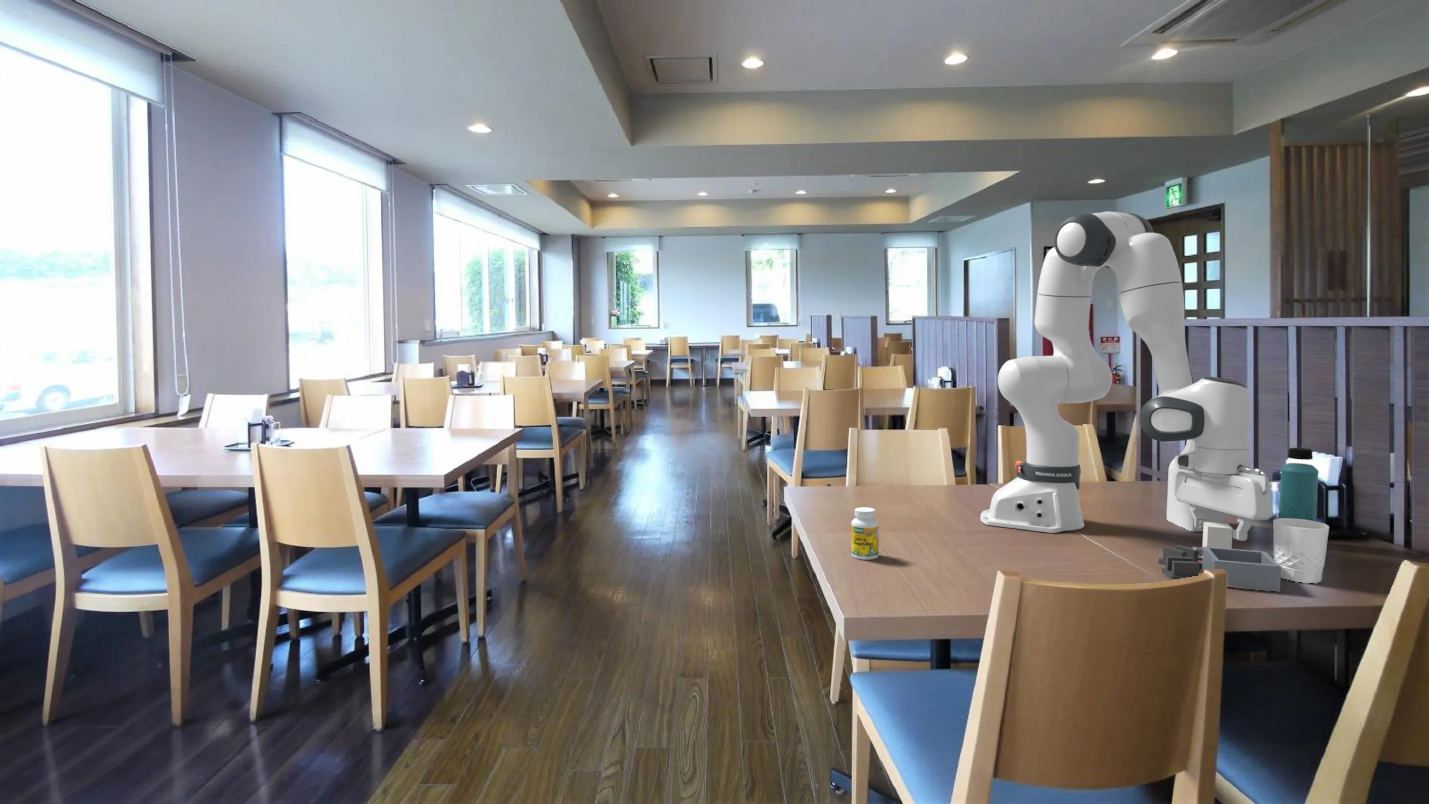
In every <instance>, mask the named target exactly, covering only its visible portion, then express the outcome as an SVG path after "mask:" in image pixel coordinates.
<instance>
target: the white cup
mask: <svg viewBox="0 0 1429 804" xmlns="http://www.w3.org/2000/svg"><path fill="white" fill-rule="evenodd" d="M1272 522H1273V527H1272V528H1273V530H1272V532H1273V537H1272V539H1273V540H1272V542H1273V545H1272V546H1273V559H1274V560H1275V561H1276V562H1277V563H1278V564H1279V565H1280V566H1281V578H1283V579H1282V580H1284V579H1287V580H1286V581H1288V580H1292V581H1295V582H1294V583H1298V582H1302V583H1301V584H1309V583H1314V584H1320V583H1321V582H1322V581H1323V572H1324V567H1325V562H1326V556H1327V545H1328V538H1329V532H1330V526H1329V525H1328V524H1326V523H1323V522H1319V521H1317V522H1316V521H1310V520H1304V519H1293V518H1280V519H1279V518H1275V519H1273V521H1272ZM1292 581H1291V582H1292ZM1319 582H1320V583H1319Z"/></svg>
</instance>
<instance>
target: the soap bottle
mask: <svg viewBox="0 0 1429 804" xmlns="http://www.w3.org/2000/svg"><path fill="white" fill-rule="evenodd" d="M1193 451H1195V442H1194V441H1193V440H1186V444H1185V447H1184V449H1183V450H1182V452H1181V453H1180V454H1179V455H1181V454H1185V453H1189V452H1193ZM1177 468H1178V466H1176V465H1175V457H1174V458H1173V459H1172V461H1170V463H1169V467H1168V472H1167V473H1168V475H1167V477H1168V480H1167V497H1166V498H1167V501H1166V521H1167V520H1168V521H1167V522H1169V521H1170V522H1169V523H1171V522H1172V524H1173V523H1174V525H1176V526H1178V527H1180V528H1182V527H1183V529H1184V528H1185V529H1184V530H1187V531H1189V532H1191V531H1192V533H1193V532H1194V533H1195V532H1197V533H1199V532H1200V533H1201V532H1202V533H1203V529H1199V528H1195V527H1194V518H1193V516H1192V514H1191V511H1190V504H1187V503H1183V502H1179V501H1177V499H1176V497H1175V495H1174V474H1175V470H1176V469H1177ZM1202 512H1203V515H1204V518H1205V519H1206V520H1208V522H1213V523H1224V520H1225V519H1224V517H1225V516H1224V515H1225V513H1223V512H1219V511H1215V510H1211V509H1207V508H1204V510H1202Z"/></svg>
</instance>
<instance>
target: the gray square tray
mask: <svg viewBox="0 0 1429 804" xmlns="http://www.w3.org/2000/svg"><path fill="white" fill-rule="evenodd" d="M1201 563H1202V568H1201V571H1202V572H1203V571H1204V570H1206V569H1224V570H1226V571H1227V572H1228V585H1229V587H1230V585H1231V586H1237V587H1244V588H1249V589H1260V590H1269V591H1279V592H1280V593H1281V566H1280V565H1279V564H1278V563H1277V562H1276V561H1275V560H1274V557H1272V556H1270V555H1269V554H1268V553H1267V552H1266V551H1261V550H1249V549H1237V548H1232V549H1227V548H1215V547H1203V557H1202V562H1201ZM1249 589H1248V590H1249ZM1269 591H1268V592H1269ZM1279 592H1278V593H1279Z"/></svg>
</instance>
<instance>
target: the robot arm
mask: <svg viewBox="0 0 1429 804" xmlns="http://www.w3.org/2000/svg"><path fill="white" fill-rule="evenodd" d="M1053 242H1054V243H1053V244H1054V247H1052V248H1050V249H1049V250H1048V251H1047V253H1046V255H1045V257H1044V260H1043V262H1042V263H1043V264H1042V267H1041V270H1040V276H1039V279H1038V280H1039V281H1038V286H1037V287H1038V288H1037V293H1036V295H1037V296H1036V304H1035V305H1036V306H1035V314H1034V323H1033V324H1034V327H1035V330H1036V331H1037V332H1038V333H1039V335H1040V336H1042V337H1044V338H1045V339H1046V340H1049V341H1050V342H1051V344H1052V348H1053V354H1052V355H1028V356H1027V355H1026V356H1023V357H1017V358H1012V359H1009V360H1007V361H1006V362H1004V363H1003V365H1002V366H1001V368H1000V370H999V372H998V375H997V385H998V387H997V388H998V389H999V392H1000V393H1001V396H1003V398H1004V399H1005V400H1007V401H1008V402H1009V403H1011V404H1012V406H1014V407H1015V409H1016V410H1017V412H1018V414H1019V415H1020V417H1021V419H1022V422H1023V424H1024V429H1025V430H1024V431H1025V439H1026V442H1025V443H1026V461H1022V460H1018V461H1016V462H1015V465H1014V467H1015V469H1016V477H1015V478H1014V479H1012V480H1011V481H1009V482H1008V483H1006V484H1005V485H1003V486H1001V487H1000V488H999V489H997V490H996V491H995V492H994V494H993V495H992V497H991V501H990V506H989V509H985V510H982V511H981V513H980V517H979V520H980V522H982V524H985V525H987V526H992V527H993V526H995V527H1003V528H1010V529H1017V530H1026V531H1035V532H1042V533H1043V532H1044V533H1051V534H1056V533H1061V532H1064V531H1065V532H1067V531H1075V530H1076V531H1077V530H1080V529H1083V528H1084V527H1085V525H1086V524H1085V522H1084V518H1083V514H1082V510H1081V503H1080V492H1079V491H1080V489H1081V485H1082V484H1081V483H1082V469H1081V464H1080V463H1079V460H1080V459H1079V457H1080V433H1079V430H1078V428H1076V426H1074V425H1073V424H1072V423H1070V422H1069V421H1067V420H1065V419H1063V417H1062V416H1061V415H1060V412H1059V408H1058V405H1059V404H1083V403H1088V402H1092V401H1097V400H1100V399H1103V398H1105V397H1106V396H1107V395H1108V393H1109V391H1110V390H1111V388H1112V385H1113V384H1112V383H1113V373H1112V369H1111V367H1110V366H1109V364H1108V362H1106V360H1104V359H1103V358H1102V357H1101V356H1100V355H1099V354H1098V352H1097V351H1096V349H1095V347H1094V346H1093V343H1092V340H1091V335H1090V328H1089V327H1090V312H1091V302H1092V295H1093V293H1092V292H1093V282H1094V278H1095V275H1096V273H1097V272H1098V271H1099V270H1100V269H1101V268H1103V267H1105V268H1107V269H1112V271H1113V272H1114V274H1115V277H1116V280H1117V282H1116V283H1117V289H1118V295H1119V301H1120V306H1121V310H1122V314H1123V317H1124V320H1125V322H1126V324H1127V326H1128V327H1129V328H1130V329H1131V330H1132V331H1133V332H1134V333H1135V334H1136V335H1138V337H1140V338H1141V339H1142V340H1143V342H1144V343H1145V344H1146V346H1147V348H1148V350H1149V352H1150V354H1151V357H1152V363H1153V366H1154V367H1153V369H1154V371H1155V377H1156V381H1157V387H1158V394H1157V396H1154V397H1152V398H1151V399H1149V400H1148V401H1147V402H1145V403H1144V405H1143V406H1142V408H1141V410H1140V411H1139V415H1138V417H1139V418H1138V419H1139V421H1138V422H1139V424H1140V428H1141V430H1142V431H1143V432H1144V434H1145V435H1147V437H1149V438H1150V439H1152V440H1155V441H1158V442H1159V443H1166V444H1167V443H1169V444H1172V443H1177V442H1183V441H1187V440H1193V441H1194V442H1195V451H1193V452H1189V453H1185V454H1181V453H1180V454H1181V455H1180V454H1179V455H1176V456H1175V457H1174V458H1175V465H1176V466H1178V468H1177V469H1176V470H1175V474H1174V495H1175V497H1176V499H1177V501H1179V502H1183V503H1187V504H1190V511H1191V514H1192V516H1193V518H1194V527H1195V528H1199V529H1203V524H1204V522H1208V520H1206V519H1205V518H1204V515H1203V512H1202V510H1204V508H1207V509H1211V510H1215V511H1219V512H1223V513H1224V514H1228V515H1232V516H1236V517H1237V519H1236V521H1237V523H1239V524H1238V526H1237V527H1236V529H1235V528H1234V529H1233V532H1232V539H1234V540H1237V541H1243V542H1244V541H1247V539H1248V533H1249V530H1250V529H1251V527H1253V525H1254V521H1265V520H1266V521H1267V520H1268V521H1269V519H1271V518H1272V516H1273V514H1274V508H1273V507H1274V505H1273V503H1274V502H1273V493H1272V489H1271V485H1270V478H1269V476H1267V474H1266V473H1265V472H1264V471H1263V470H1262V469H1260V468H1257V467H1256V468H1254V467H1251V465H1250V464H1251V463H1250V462H1251V461H1250V460H1251V444H1250V441H1249V431H1250V428H1251V426H1252V410H1251V409H1252V406H1251V405H1252V404H1251V397H1250V391H1249V389H1248V388H1247V386H1246V385H1245V384H1244V383H1242V382H1240V381H1239V380H1235V379H1231V378H1230V379H1229V378H1225V377H1216V376H1215V377H1214V376H1205V377H1202V378H1201V379H1198V380H1197V381H1196V382H1194V379H1193V374H1192V370H1191V364H1190V360H1189V355H1188V350H1187V344H1186V333H1185V330H1186V328H1185V298H1184V297H1185V295H1184V288H1183V281H1182V275H1181V270H1180V267H1179V263H1178V260H1177V257H1176V253H1175V251H1174V249H1173V245H1172V244H1171V241H1170V240H1169V238H1168V237H1166V236H1165V235H1163V234H1162V233H1157V232H1154V230H1153V227H1152V224H1151V223H1150V222H1149V221H1148V220H1147V219H1146V218H1144V217H1143V216H1141V215H1139V214H1136V213H1132V212H1121V211H1120V212H1118V211H1102V212H1093V213H1092V212H1091V213H1089V212H1084V213H1078V214H1075V215H1072V216H1069V217H1067V218H1066V219H1065V220H1063V221H1062V222H1061V224H1060V225H1058V226H1057V229H1056V232H1055V235H1054V241H1053Z"/></svg>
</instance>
